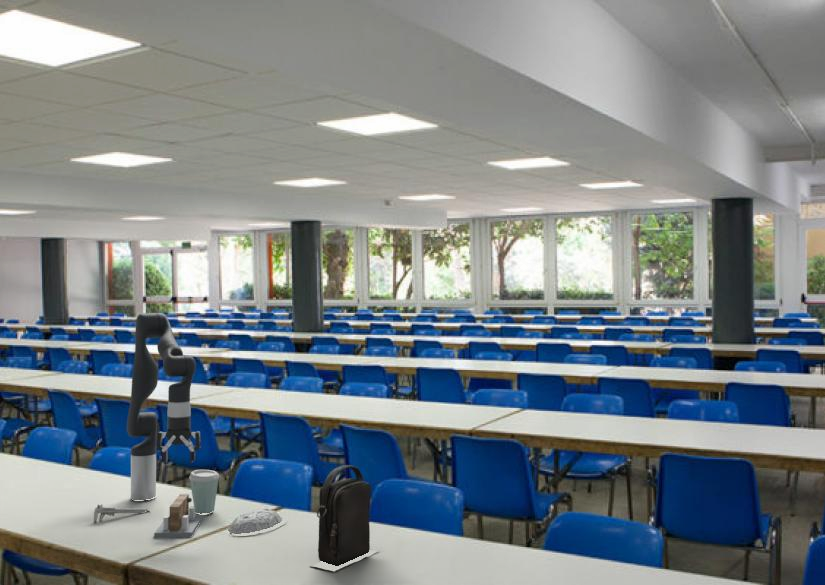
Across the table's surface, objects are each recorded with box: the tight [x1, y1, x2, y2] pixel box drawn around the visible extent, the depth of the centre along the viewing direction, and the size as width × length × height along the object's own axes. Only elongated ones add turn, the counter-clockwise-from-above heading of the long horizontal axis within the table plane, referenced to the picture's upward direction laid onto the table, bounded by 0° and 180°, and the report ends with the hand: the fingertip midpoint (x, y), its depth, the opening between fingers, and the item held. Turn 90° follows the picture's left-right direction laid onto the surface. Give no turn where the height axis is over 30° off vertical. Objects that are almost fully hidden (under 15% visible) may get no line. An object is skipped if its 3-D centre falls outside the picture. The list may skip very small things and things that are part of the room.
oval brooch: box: [227, 507, 283, 534], centre depth 267 cm, size 16×25×7 cm, turn 147°
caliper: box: [93, 503, 149, 523], centre depth 278 cm, size 20×1×6 cm, turn 135°
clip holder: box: [153, 505, 204, 539], centre depth 265 cm, size 20×12×6 cm, turn 5°
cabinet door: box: [169, 493, 193, 531], centre depth 265 cm, size 16×4×8 cm, turn 5°
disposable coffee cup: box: [188, 469, 220, 514], centre depth 283 cm, size 11×11×15 cm
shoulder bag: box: [316, 464, 372, 566], centre depth 235 cm, size 23×9×28 cm, turn 146°
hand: (178, 462), depth 266 cm, fingers open, 8 cm apart
